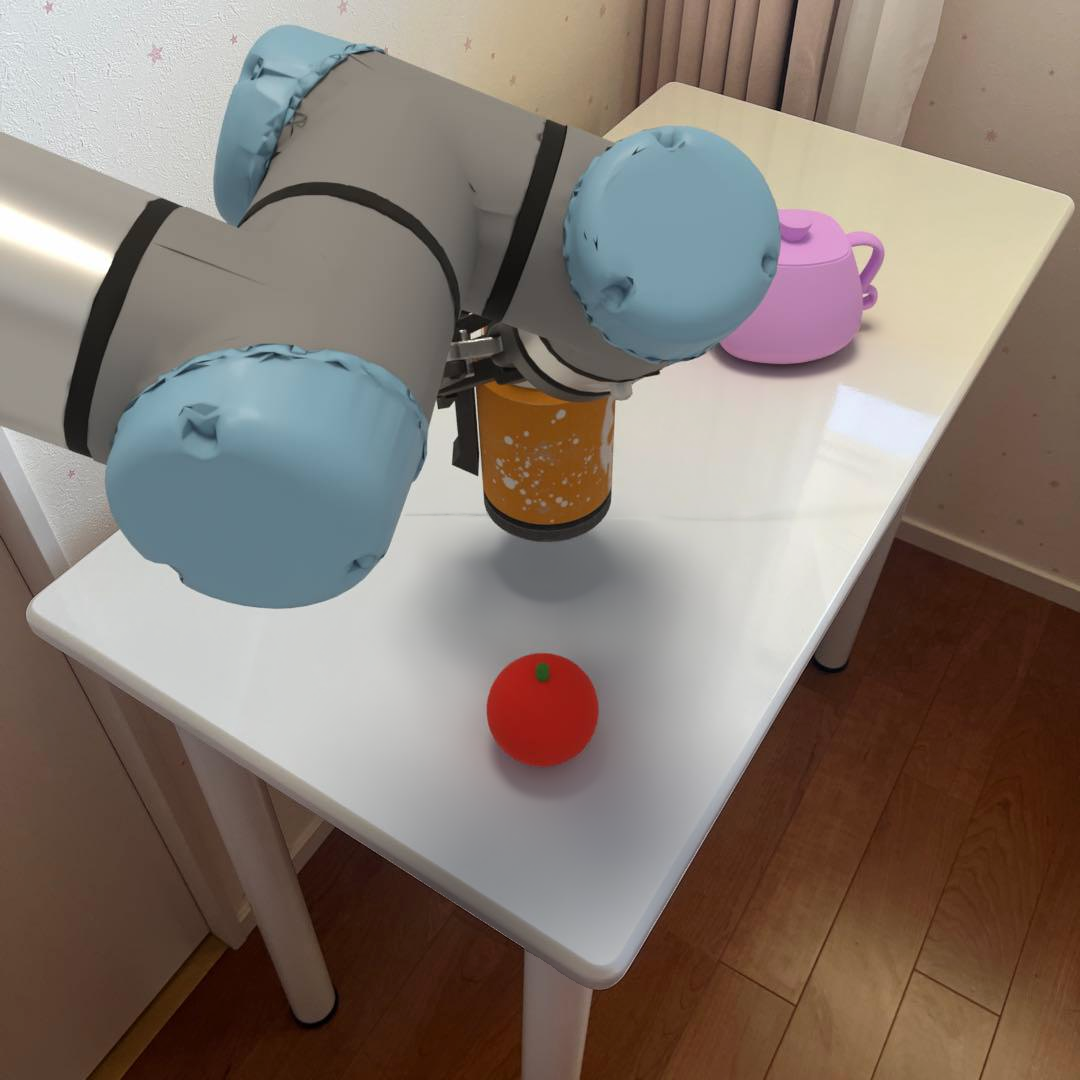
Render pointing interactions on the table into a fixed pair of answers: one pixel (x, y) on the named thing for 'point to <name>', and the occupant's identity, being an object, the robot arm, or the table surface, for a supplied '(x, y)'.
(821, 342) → the teapot
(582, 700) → the tomato
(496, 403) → the canister
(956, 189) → the table surface
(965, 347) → the table surface
